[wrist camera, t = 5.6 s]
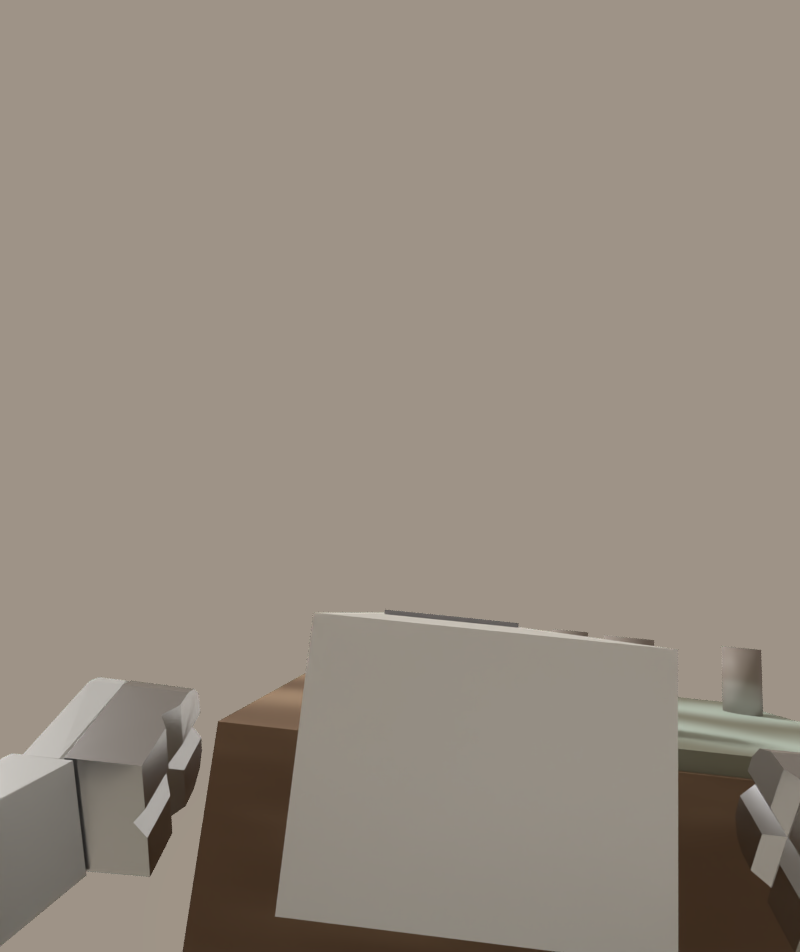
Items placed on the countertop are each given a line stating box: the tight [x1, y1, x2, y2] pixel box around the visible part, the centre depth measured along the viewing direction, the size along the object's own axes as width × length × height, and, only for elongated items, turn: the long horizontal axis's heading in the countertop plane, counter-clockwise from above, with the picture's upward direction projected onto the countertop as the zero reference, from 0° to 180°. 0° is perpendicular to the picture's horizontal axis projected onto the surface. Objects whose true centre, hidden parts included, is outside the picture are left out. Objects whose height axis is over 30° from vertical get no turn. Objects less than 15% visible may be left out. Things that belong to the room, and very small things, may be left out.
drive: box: [275, 610, 678, 952], centre depth 17 cm, size 22×4×3 cm, turn 179°
